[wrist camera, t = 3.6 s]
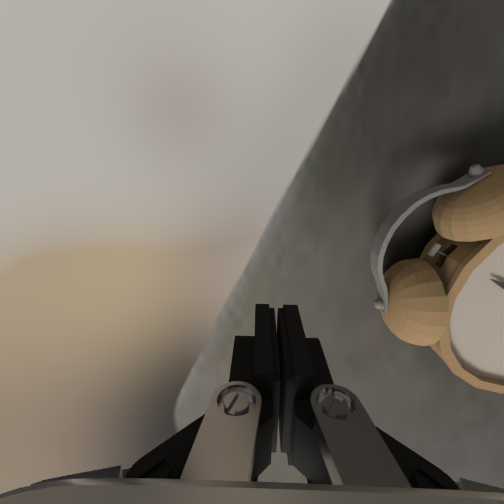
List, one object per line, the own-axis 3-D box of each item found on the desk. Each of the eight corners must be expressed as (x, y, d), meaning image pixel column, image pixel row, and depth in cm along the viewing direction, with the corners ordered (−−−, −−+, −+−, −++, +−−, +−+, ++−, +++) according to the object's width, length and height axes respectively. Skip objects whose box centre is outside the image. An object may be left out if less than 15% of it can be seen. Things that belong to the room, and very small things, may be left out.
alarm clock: (549, 417, 17) (350, 352, 13) (480, 357, 22) (315, 294, 18) (724, 261, 14) (529, 107, 10) (600, 228, 18) (430, 113, 14)
